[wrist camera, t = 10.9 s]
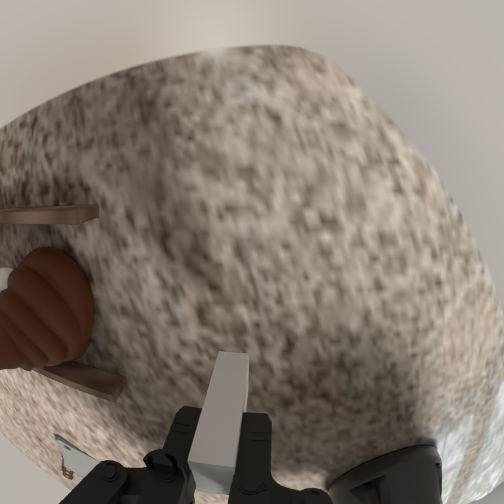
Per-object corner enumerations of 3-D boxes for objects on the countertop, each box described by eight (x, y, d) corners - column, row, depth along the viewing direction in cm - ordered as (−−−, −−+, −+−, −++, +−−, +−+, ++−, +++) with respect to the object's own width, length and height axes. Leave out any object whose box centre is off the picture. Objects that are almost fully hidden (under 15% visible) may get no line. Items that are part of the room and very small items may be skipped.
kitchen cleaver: (95, 493, 32) (54, 470, 30) (96, 490, 33) (56, 466, 31) (114, 470, 26) (54, 435, 24) (116, 465, 27) (57, 430, 25)
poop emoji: (90, 366, 20) (36, 436, 11) (25, 314, 19) (-37, 362, 10) (113, 278, 17) (20, 353, 8) (35, 222, 16) (-57, 256, 7)
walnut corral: (98, 204, 15) (74, 210, 13) (126, 383, 19) (115, 402, 17) (-14, 209, 16) (-32, 214, 14) (16, 342, 20) (3, 353, 18)
